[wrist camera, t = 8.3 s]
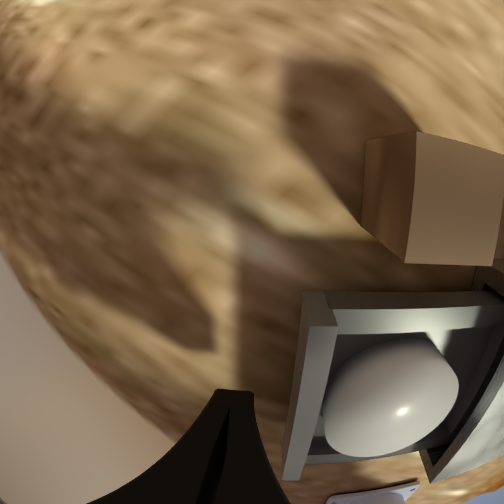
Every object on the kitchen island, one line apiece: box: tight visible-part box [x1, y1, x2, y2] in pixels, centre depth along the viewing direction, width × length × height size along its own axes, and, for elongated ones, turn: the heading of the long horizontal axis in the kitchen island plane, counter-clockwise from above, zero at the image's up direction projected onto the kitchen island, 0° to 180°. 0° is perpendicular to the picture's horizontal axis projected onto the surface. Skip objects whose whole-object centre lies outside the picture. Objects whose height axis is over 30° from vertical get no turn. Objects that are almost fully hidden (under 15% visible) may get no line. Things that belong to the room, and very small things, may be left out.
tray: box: [282, 291, 504, 481], centre depth 10 cm, size 9×10×2 cm
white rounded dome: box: [322, 337, 459, 457], centre depth 10 cm, size 6×6×2 cm
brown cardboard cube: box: [360, 131, 504, 266], centre depth 7 cm, size 3×3×4 cm
